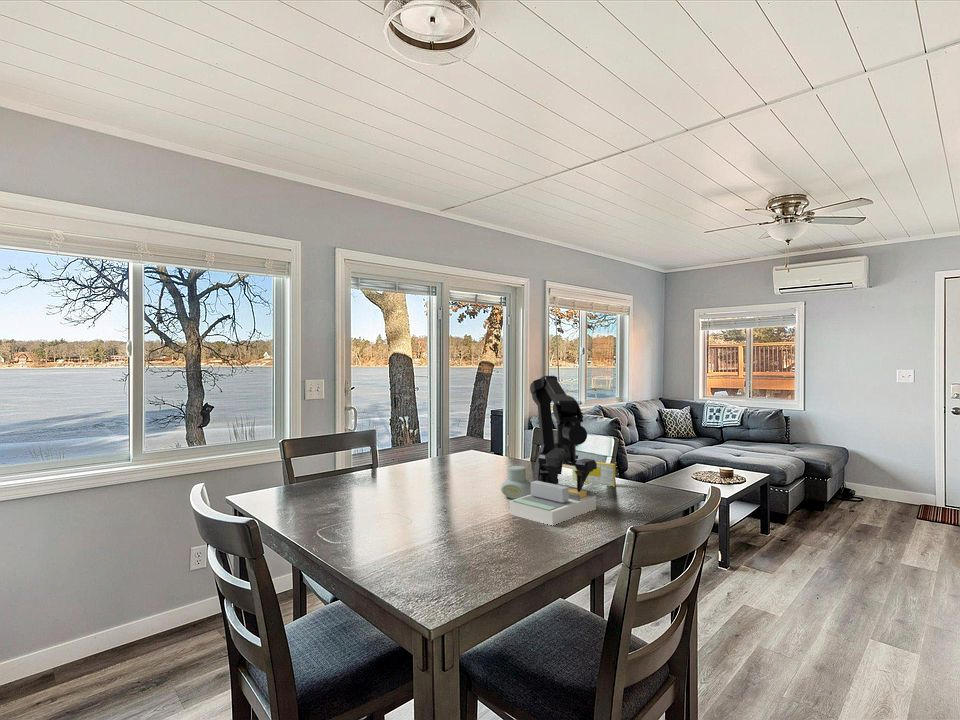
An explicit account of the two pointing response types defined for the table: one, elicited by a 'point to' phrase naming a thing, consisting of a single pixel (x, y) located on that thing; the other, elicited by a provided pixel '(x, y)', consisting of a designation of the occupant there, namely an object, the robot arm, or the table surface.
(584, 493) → the yellow rectangular block
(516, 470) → the air freshener
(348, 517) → the table surface
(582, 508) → the breaker box
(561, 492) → the grey rectangular block
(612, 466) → the candy box
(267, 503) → the table surface
